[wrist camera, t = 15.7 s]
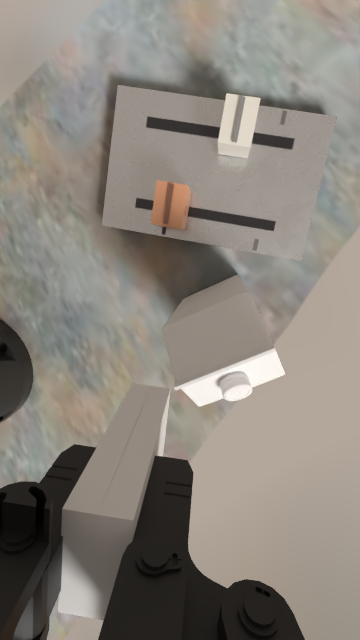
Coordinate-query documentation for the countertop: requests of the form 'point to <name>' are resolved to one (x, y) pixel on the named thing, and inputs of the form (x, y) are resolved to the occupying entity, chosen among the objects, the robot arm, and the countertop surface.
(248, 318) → the milk carton
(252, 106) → the block
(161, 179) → the console
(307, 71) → the countertop surface
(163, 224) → the fader
